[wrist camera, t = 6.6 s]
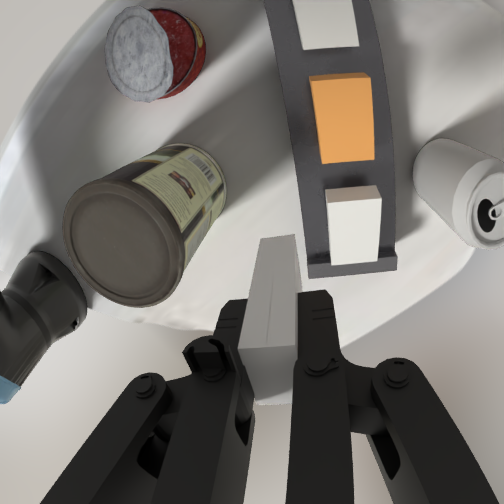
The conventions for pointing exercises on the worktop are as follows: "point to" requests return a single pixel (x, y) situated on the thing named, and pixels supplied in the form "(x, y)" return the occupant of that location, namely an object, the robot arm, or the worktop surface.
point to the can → (463, 190)
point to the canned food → (153, 53)
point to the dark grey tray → (306, 138)
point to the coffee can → (144, 223)
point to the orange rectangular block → (343, 116)
